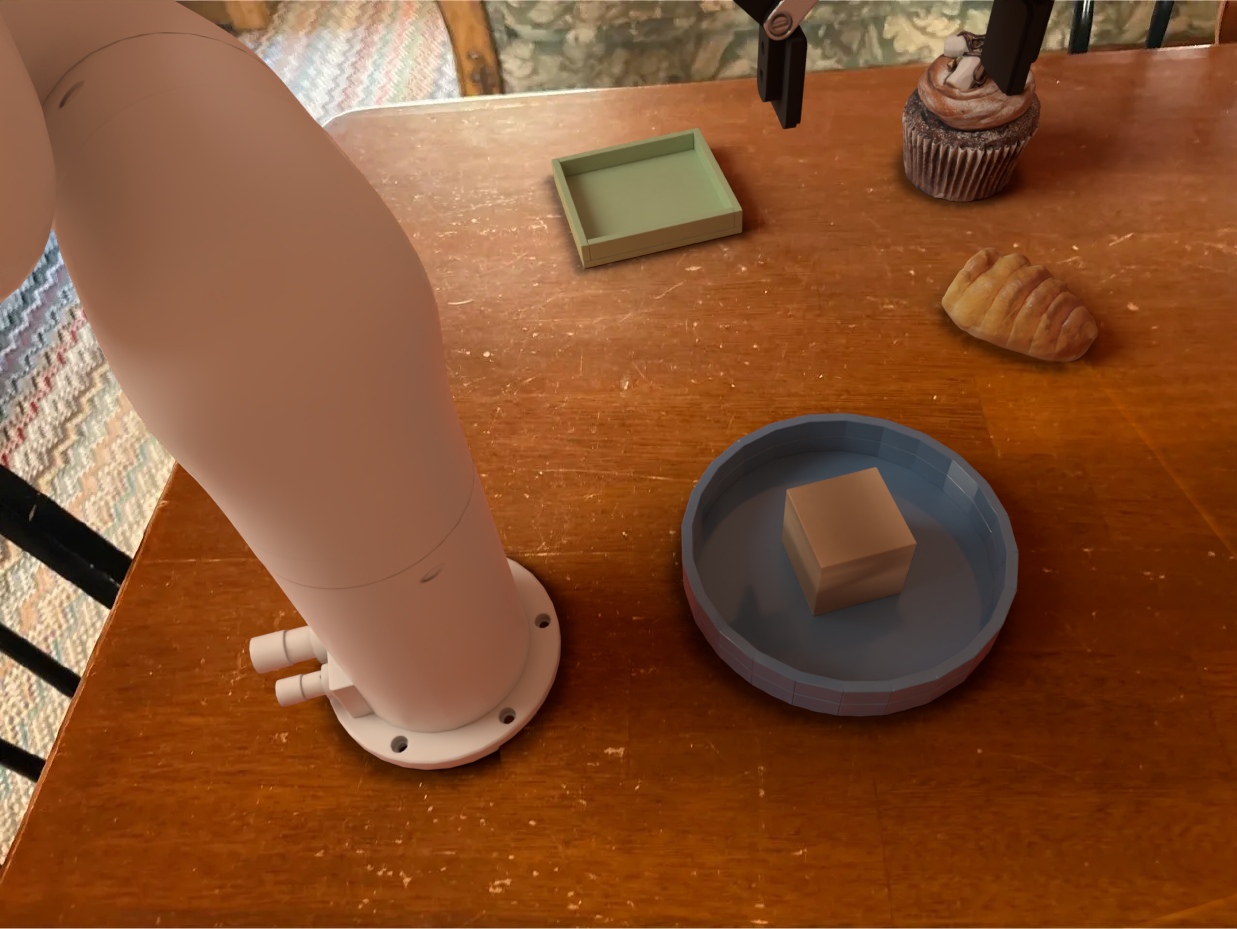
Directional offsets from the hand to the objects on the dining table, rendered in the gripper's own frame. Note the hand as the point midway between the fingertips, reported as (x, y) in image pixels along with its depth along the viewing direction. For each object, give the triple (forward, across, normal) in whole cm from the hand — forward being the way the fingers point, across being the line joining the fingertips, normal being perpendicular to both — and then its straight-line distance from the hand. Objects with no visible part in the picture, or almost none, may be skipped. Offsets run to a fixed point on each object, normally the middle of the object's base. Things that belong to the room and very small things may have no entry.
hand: (891, 95), depth 41 cm
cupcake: (+22, +16, +23) cm, 36 cm away
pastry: (+22, +14, +6) cm, 27 cm away
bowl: (+22, -3, -10) cm, 25 cm away
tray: (+22, -8, +24) cm, 34 cm away
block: (+22, -3, -10) cm, 24 cm away
